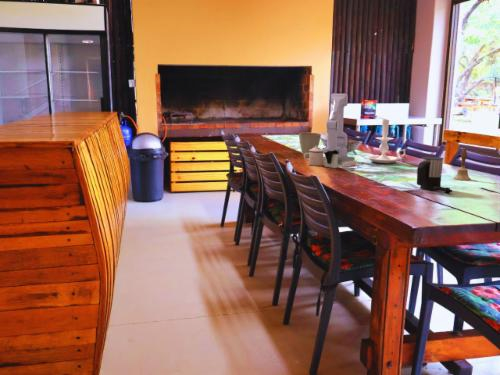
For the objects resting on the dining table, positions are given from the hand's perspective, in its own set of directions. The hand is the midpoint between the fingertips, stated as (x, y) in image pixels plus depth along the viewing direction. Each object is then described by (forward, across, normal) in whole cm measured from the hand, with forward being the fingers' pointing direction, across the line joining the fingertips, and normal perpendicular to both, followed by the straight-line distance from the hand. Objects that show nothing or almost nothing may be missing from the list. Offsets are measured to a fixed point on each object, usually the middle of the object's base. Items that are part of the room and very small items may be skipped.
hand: (331, 163), depth 274 cm
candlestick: (+2, +40, -14) cm, 42 cm away
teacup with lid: (+2, -1, +12) cm, 13 cm away
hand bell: (+2, +19, -70) cm, 72 cm away
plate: (+2, 0, 0) cm, 2 cm away
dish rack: (+2, +12, +1) cm, 12 cm away
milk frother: (+2, -18, -73) cm, 75 cm away
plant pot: (+2, +23, +36) cm, 42 cm away
